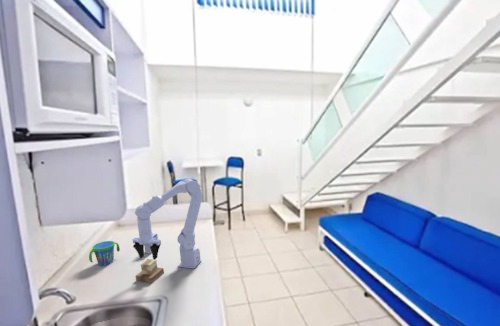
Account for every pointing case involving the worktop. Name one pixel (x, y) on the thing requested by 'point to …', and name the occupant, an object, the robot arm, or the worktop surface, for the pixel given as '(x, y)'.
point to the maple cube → (149, 266)
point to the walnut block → (150, 276)
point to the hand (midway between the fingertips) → (148, 257)
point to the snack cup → (104, 252)
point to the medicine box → (147, 246)
